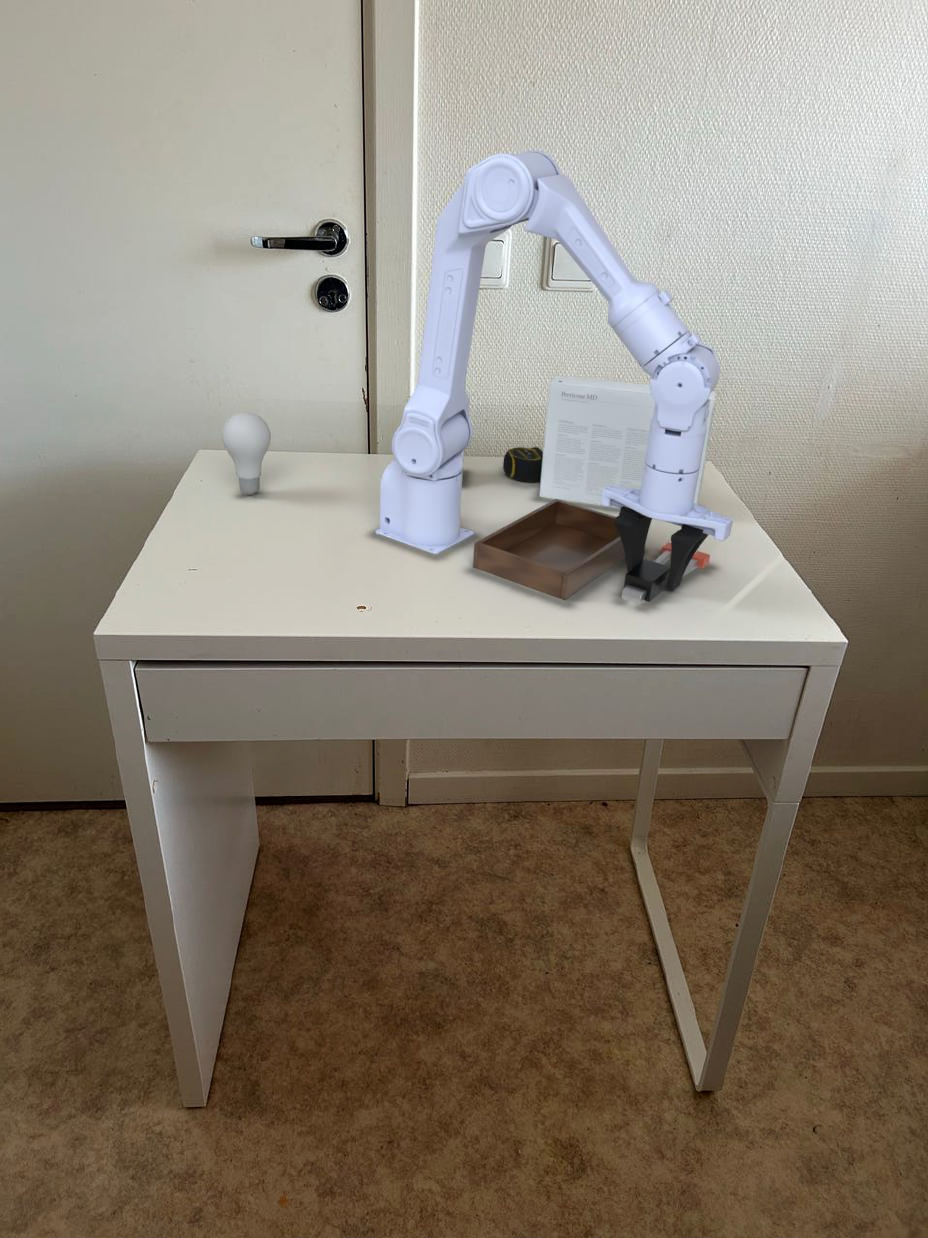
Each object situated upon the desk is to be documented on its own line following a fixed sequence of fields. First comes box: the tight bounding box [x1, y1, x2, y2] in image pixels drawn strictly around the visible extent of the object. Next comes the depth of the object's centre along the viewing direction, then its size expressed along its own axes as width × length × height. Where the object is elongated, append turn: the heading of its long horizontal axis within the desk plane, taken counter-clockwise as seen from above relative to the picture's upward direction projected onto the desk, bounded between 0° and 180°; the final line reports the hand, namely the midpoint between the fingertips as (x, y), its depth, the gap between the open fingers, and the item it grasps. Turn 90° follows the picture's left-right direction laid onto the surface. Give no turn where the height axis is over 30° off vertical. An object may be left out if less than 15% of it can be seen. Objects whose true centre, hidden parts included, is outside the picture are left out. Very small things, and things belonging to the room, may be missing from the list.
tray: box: [472, 499, 626, 601], centre depth 111 cm, size 12×18×4 cm
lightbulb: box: [221, 411, 272, 496], centre depth 123 cm, size 6×6×11 cm
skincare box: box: [538, 374, 717, 508], centre depth 125 cm, size 21×6×16 cm, turn 76°
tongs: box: [621, 541, 711, 606], centre depth 108 cm, size 5×15×3 cm, turn 144°
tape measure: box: [502, 446, 543, 483], centre depth 135 cm, size 7×7×4 cm
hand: (653, 580), depth 107 cm, fingers open, 4 cm apart
